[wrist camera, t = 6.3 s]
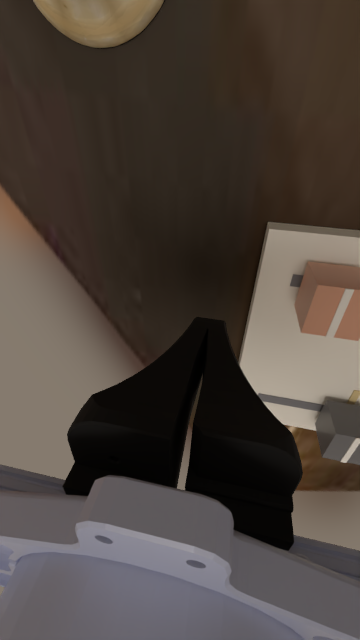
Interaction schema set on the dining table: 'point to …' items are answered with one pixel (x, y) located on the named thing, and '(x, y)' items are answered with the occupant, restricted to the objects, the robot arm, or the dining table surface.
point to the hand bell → (99, 19)
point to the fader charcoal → (339, 431)
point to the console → (297, 328)
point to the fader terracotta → (329, 301)
